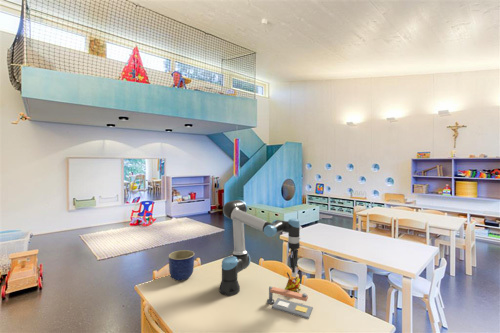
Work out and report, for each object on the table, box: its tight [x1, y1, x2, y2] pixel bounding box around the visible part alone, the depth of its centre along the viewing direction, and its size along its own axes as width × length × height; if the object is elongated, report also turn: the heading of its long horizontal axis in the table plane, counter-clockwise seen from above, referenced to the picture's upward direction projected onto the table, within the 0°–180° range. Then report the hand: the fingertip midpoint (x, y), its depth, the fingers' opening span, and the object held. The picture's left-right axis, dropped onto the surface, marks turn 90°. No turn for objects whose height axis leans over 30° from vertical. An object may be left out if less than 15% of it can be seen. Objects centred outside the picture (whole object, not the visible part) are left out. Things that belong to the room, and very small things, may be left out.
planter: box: [168, 249, 196, 282], centre depth 202 cm, size 21×21×19 cm
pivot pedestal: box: [266, 298, 275, 306], centre depth 167 cm, size 5×5×1 cm
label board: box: [271, 297, 314, 319], centre depth 161 cm, size 24×12×1 cm, turn 64°
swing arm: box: [268, 286, 309, 302], centre depth 162 cm, size 26×4×10 cm, turn 64°
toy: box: [284, 272, 301, 293], centre depth 183 cm, size 14×10×15 cm
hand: (293, 276), depth 169 cm, fingers closed
